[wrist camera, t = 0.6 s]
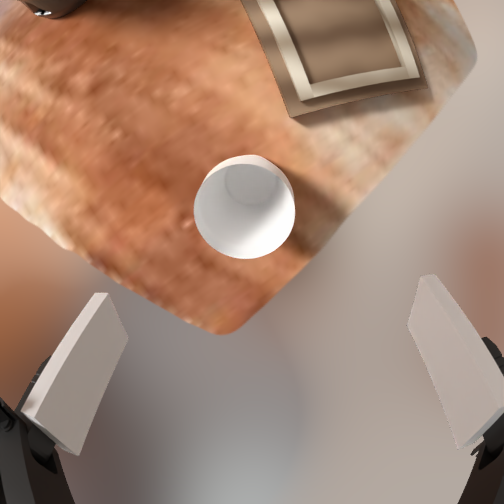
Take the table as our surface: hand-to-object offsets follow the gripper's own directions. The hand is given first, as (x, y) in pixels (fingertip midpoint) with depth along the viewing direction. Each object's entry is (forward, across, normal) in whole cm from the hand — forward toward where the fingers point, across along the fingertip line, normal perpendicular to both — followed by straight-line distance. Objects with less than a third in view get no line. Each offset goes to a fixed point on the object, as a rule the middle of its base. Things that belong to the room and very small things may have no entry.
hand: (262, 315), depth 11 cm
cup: (+26, -2, -1) cm, 26 cm away
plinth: (+26, +10, +17) cm, 33 cm away
